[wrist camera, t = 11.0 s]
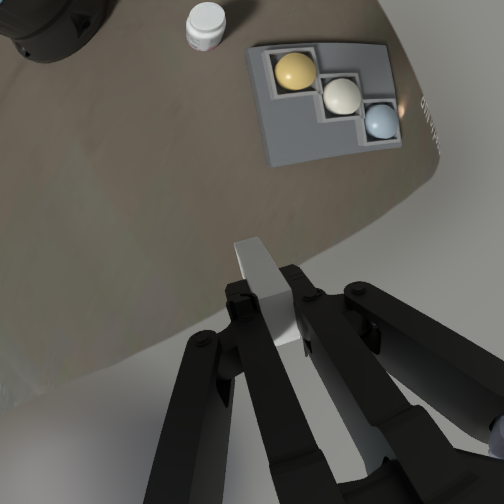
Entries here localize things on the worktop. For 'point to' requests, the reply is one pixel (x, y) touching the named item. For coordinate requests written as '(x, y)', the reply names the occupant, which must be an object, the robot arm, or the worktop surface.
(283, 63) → the ochre button
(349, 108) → the ivory button
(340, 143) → the panel
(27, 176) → the worktop surface
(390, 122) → the slate button
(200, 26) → the pill bottle
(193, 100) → the worktop surface
